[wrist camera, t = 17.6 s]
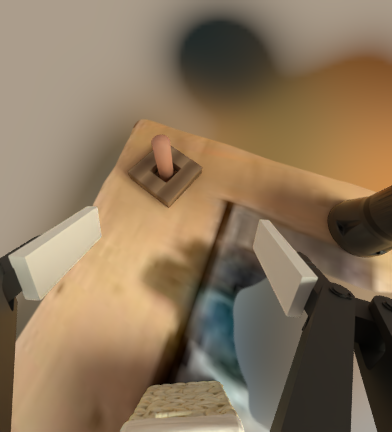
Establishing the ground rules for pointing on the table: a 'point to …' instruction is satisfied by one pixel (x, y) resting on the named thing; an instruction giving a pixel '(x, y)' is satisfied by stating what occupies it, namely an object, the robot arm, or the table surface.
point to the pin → (163, 156)
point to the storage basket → (184, 409)
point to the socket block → (175, 186)
